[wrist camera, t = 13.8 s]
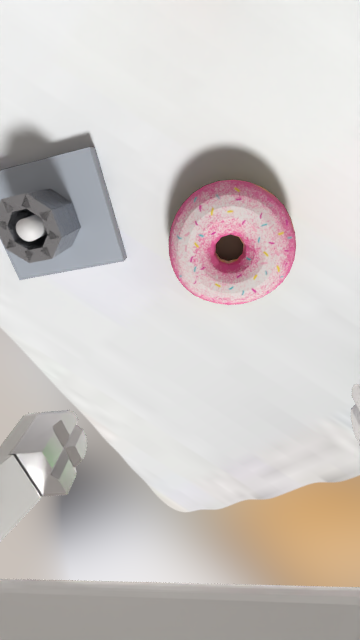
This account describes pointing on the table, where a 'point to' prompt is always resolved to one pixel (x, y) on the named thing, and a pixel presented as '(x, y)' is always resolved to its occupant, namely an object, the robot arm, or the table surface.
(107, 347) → the table surface
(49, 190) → the ring
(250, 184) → the donut
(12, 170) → the shaft block
